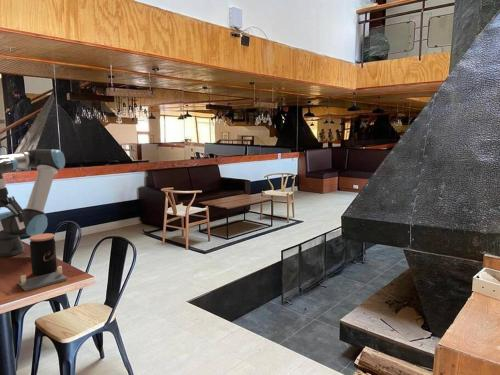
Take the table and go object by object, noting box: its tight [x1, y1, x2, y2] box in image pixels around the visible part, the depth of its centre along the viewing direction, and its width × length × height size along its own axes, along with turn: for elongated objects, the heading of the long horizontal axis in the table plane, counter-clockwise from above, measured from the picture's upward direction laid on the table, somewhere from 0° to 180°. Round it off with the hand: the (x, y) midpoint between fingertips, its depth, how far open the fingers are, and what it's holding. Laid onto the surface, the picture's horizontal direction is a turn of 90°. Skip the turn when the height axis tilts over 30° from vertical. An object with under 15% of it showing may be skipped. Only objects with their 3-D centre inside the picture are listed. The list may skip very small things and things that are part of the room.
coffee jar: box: [28, 232, 58, 276], centre depth 176 cm, size 11×11×18 cm
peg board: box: [17, 265, 68, 292], centre depth 165 cm, size 17×11×5 cm, turn 137°
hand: (11, 229), depth 180 cm, fingers open, 13 cm apart
